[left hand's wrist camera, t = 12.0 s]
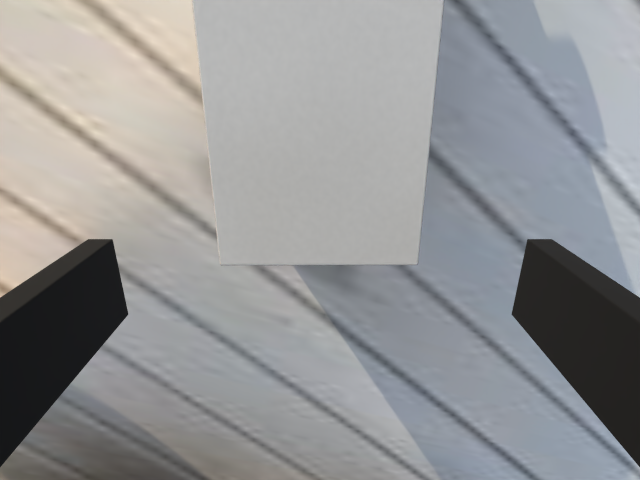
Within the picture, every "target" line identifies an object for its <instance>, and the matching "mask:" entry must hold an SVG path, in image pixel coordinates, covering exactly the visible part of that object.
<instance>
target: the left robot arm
mask: <svg viewBox="0 0 640 480" xmlns="http://www.w3.org/2000/svg"><path fill="white" fill-rule="evenodd" d="M127 315H128V311H127V306H126V301H125V297H124V292H123V287H122V282H121V278H120V273H119V268H118V263H117V259H116V254H115V249H114V244H113V240H112V239H88V240H87V241H85V242H83V243H82V244H80V245H79V246H77V247H76V248H74V249H73V250H71V251H70V252H68V253H67V254H65V255H64V256H62V257H61V258H59V259H58V260H56V261H55V262H53V263H52V264H50V265H49V266H47V267H46V268H44V269H43V270H41V271H40V272H38V273H37V274H35V275H34V276H32V277H31V278H29V279H28V280H26V281H25V282H23V283H22V284H20V285H19V286H17V287H16V288H14V289H13V290H11V291H10V292H8V293H7V294H5V295H4V296H2V297H1V298H0V467H1V466H2V464H3V463H4V462H5V461H6V460H7V458H8V457H9V456H10V455H11V454H12V452H13V451H14V450H15V449H16V448H17V446H18V445H19V444H20V443H21V442H22V440H23V439H24V438H25V437H26V436H27V435H28V433H29V432H30V431H31V430H32V429H33V427H34V426H35V425H36V424H37V423H38V421H39V420H40V419H41V418H42V417H43V415H44V414H45V413H46V412H47V411H48V409H49V408H50V407H51V406H52V405H53V403H54V402H55V401H56V400H57V399H58V398H59V396H60V395H61V394H62V393H63V392H64V390H65V389H66V388H67V387H68V386H69V384H70V383H71V382H72V381H73V380H74V378H75V377H76V376H77V375H78V374H79V372H80V371H81V370H82V369H83V368H84V367H85V365H86V364H87V363H88V362H89V361H90V359H91V358H92V357H93V356H94V355H95V353H96V352H97V351H98V350H99V349H100V347H101V346H102V345H103V344H104V343H105V341H106V340H107V339H108V338H109V337H110V335H111V334H112V333H113V332H114V331H115V330H116V328H117V327H118V326H119V325H120V324H121V322H122V321H123V320H124V319H125V318H126V316H127ZM512 315H513V316H514V318H515V319H516V320H517V321H518V322H519V324H520V325H521V326H522V327H523V328H524V330H525V331H526V332H527V333H528V334H529V335H530V337H531V338H532V339H533V340H534V341H535V343H536V344H537V345H538V346H539V347H540V349H541V350H542V351H543V352H544V353H545V355H546V356H547V357H548V358H549V359H550V361H551V362H552V363H553V364H554V365H555V367H556V368H557V369H558V370H559V371H560V372H561V374H562V375H563V376H564V377H565V378H566V380H567V381H568V382H569V383H570V384H571V386H572V387H573V388H574V389H575V390H576V392H577V393H578V394H579V395H580V396H581V398H582V399H583V400H584V401H585V402H586V403H587V405H588V406H589V407H590V408H591V409H592V411H593V412H594V413H595V414H596V415H597V417H598V418H599V419H600V420H601V421H602V423H603V424H604V425H605V426H606V427H607V429H608V430H609V431H610V432H611V433H612V435H613V436H614V437H615V438H616V439H617V440H618V442H619V443H620V444H621V445H622V446H623V448H624V449H625V450H626V451H627V452H628V454H629V455H630V456H631V457H632V458H633V460H634V461H635V462H636V463H637V464H638V466H639V467H640V298H639V297H638V296H636V295H635V294H633V293H632V292H630V291H629V290H627V289H626V288H624V287H623V286H621V285H620V284H618V283H617V282H615V281H614V280H612V279H611V278H609V277H608V276H606V275H605V274H603V273H602V272H600V271H599V270H597V269H596V268H594V267H593V266H591V265H590V264H588V263H587V262H585V261H584V260H582V259H581V258H579V257H578V256H576V255H575V254H573V253H572V252H570V251H569V250H567V249H566V248H564V247H563V246H561V245H560V244H558V243H557V242H555V241H553V240H552V239H528V240H527V244H526V249H525V254H524V259H523V263H522V268H521V273H520V278H519V282H518V287H517V292H516V297H515V301H514V306H513V311H512Z"/></svg>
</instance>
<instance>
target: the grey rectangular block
mask: <svg viewBox="0 0 640 480" xmlns="http://www.w3.org/2000/svg"><path fill="white" fill-rule="evenodd" d="M192 5H193V14H194V24H195V33H196V42H197V52H198V61H199V71H200V80H201V90H202V99H203V109H204V118H205V128H206V137H207V146H208V156H209V165H210V175H211V184H212V194H213V203H214V213H215V222H216V232H217V241H218V250H219V260H220V265H418V259H419V249H420V239H421V229H422V219H423V209H424V199H425V189H426V179H427V169H428V159H429V149H430V139H431V129H432V119H433V109H434V99H435V89H436V79H437V69H438V59H439V49H440V39H441V29H442V19H443V9H444V0H192Z"/></svg>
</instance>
